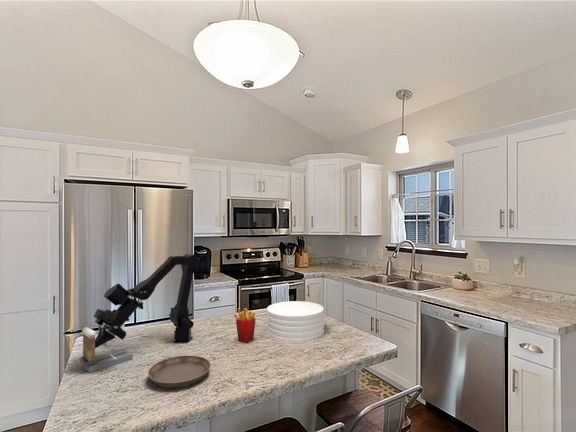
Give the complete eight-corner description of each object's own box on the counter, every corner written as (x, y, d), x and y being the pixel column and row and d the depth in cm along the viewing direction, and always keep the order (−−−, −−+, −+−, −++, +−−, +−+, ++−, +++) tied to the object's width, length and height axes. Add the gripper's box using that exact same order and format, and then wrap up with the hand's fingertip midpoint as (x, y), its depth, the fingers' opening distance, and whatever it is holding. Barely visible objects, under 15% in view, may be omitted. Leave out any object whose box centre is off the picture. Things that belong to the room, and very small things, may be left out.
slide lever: (91, 358, 121) (92, 325, 121) (97, 363, 116) (98, 329, 117) (79, 361, 118) (80, 328, 118) (85, 367, 113) (85, 332, 114)
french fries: (245, 336, 149) (245, 304, 149) (259, 340, 144) (258, 307, 144) (232, 342, 141) (231, 309, 142) (246, 346, 137) (245, 311, 137)
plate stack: (333, 327, 161) (333, 305, 161) (306, 346, 137) (306, 319, 137) (287, 319, 176) (286, 298, 176) (255, 334, 152) (255, 310, 152)
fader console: (124, 354, 130) (124, 348, 130) (132, 359, 125) (132, 354, 125) (82, 366, 119) (82, 360, 119) (89, 372, 114) (89, 367, 114)
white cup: (104, 348, 137) (104, 324, 137) (105, 342, 144) (105, 320, 144) (124, 344, 141) (124, 322, 141) (124, 339, 148) (124, 317, 148)
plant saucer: (219, 366, 119) (219, 357, 119) (192, 395, 98) (192, 384, 98) (170, 361, 123) (170, 353, 123) (134, 389, 102) (134, 378, 102)
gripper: (100, 297, 129) (68, 331, 121) (117, 304, 116) (82, 343, 108) (121, 312, 135) (91, 346, 126) (139, 321, 122) (107, 359, 113)
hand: (92, 348), depth 118 cm, fingers closed, pressing on slide lever
